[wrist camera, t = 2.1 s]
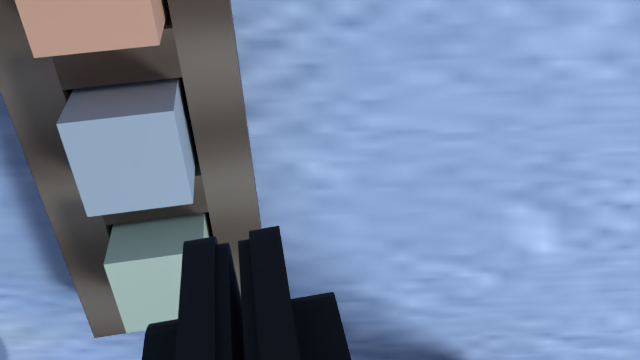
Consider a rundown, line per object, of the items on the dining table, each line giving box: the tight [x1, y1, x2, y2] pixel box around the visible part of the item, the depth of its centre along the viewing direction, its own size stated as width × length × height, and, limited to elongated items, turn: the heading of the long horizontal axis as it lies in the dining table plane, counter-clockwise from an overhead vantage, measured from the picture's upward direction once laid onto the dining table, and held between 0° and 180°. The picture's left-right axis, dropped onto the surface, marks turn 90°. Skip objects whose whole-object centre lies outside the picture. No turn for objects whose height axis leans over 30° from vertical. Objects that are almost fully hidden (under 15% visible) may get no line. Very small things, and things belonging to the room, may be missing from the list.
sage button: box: [104, 212, 211, 333], centre depth 33 cm, size 5×5×4 cm
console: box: [0, 0, 261, 338], centre depth 31 cm, size 27×11×3 cm, turn 3°
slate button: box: [56, 77, 196, 217], centre depth 29 cm, size 5×5×4 cm
